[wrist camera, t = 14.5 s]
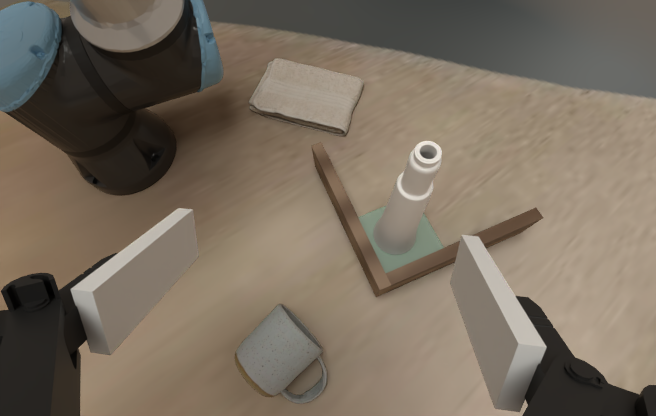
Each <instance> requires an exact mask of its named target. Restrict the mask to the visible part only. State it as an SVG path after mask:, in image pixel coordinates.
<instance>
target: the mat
mask: <svg viewBox="0 0 656 416" xmlns="http://www.w3.org/2000/svg"><path fill="white" fill-rule="evenodd" d="M385 208H386V206H384V207H382V208H379V209H377V210H375V211H372V212H370V213H367V214H365V215H363V216H360V217H358V218H359V220H360V222H361V224H362V226H363V228H364V230H365V232H366V235H367V237H368V239H369V241H370V243H371V245H372V247H373V249H374V251H375V253H376V255H377V257H378V259H379V261H380V263H381V265H382V267H383V269H384V271H385V273H388V272H390V271H392V270H395V269H397V268H399V267H402V266H404V265H406V264H408V263H411V262H413V261H415V260H418V259H420V258H422V257H424V256H427V255H429V254H431V253H434V252H436V251H438V250H440V249H443V248H444V247H443V245H442V244H441V242H440V240H439V239H438V237H437V235H436V233H435V232H434V230H433V228H432V226H431V225H430V223H429V221H428V220H427V218H426V216H425V214H424V213H423V215H422V218H421V220H420V223H419V225H418V228H417V232H416V241H415V243H414V245H413V247H412V248H411V249H410V250H409V251H407V252H406V253H403V254H399V255H393V254H388V253H386V252H384V251H383V250H381V249H380V248H379V247H378V246H377V244H376V242H375V240H374V236H373V231H374V227H375V225H376V223H377V221H378V220H379V219H380V218H381V216H382V215H383V213H384V210H385Z"/></svg>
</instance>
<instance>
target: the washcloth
mask: <svg viewBox="0 0 656 416" xmlns="http://www.w3.org/2000/svg"><path fill="white" fill-rule="evenodd" d="M363 85H364V82H363V80H362V79H360V78H359V77H354V76H350V75H347V74H340V73H339V72H334V71H330V70H325V69H323V68H317V67H315V66H310V65H305V64H300V63H296V62H292V61H289V60H286V59H281V58H277V59H274V61H271V62H269V63H268V66H267V70H266V72H265V74H264V76H263V77H262V79H261V81H260V83H259V85H258V86H257V88H256V89H255V92H254V93H253V95H252V97H251V99H250V100H249V104H251V105H250V110H252V111H254V112H257V113H259V114H260V115H264V116H267V117H269V118H271V119H275V120H279V121H282V122H287V123H290V124H294V125H298V126H302V127H306V128H310V129H314V130H318V131H322V132H325V133H329V134H333V135H336V136H344V135H346V133H347V131H348V128H349V124H350V121H351V114H352V112H353V110H354V107H355V106H356V104H357V102H358V100H359V97H360V94H361V91H362V88H363Z"/></svg>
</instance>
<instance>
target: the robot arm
mask: <svg viewBox="0 0 656 416" xmlns="http://www.w3.org/2000/svg"><path fill="white" fill-rule="evenodd" d="M70 14H71V16H69V17H66V18H59V15H58V14H57V13H56V12H55V11H54V10H52V9H50V8H49V7H47V6H46V5H44V4H41V3H34V2H22V3H17V4H14V5H11V6H9V7H7V8H5V9H3V10H1V11H0V110H1V111H2V112H5V113H7V114H8V115H10V116H11V117H13V118H14V119H16V120H17V121H19V122H20V123H22V124H23V125H25V126H26V127H28V128H29V129H31V130H32V131H34V132H35V133H37V134H38V135H40V136H41V137H43V138H44V139H46V140H47V141H49V142H50V143H52V144H53V145H55V146H56V147H58V148H59V149H61V150H62V151H64V152H65V153H66V154H67V155H68V156H69V158H70V159H71V161H72V162H73V164H74V165H75V167H76V168H77V170H78V171H79V172H80V174H81V175H82V177H83V178H84V179H85V180H86V181H87V182H88V183H90V184H91V185H93V186H94V187H96V188H97V189H99V190H101V191H103V192H105V193H108V194H113V195H126V194H132V193H135V192H138V191H141V190H143V189H145V188H147V187H149V186H151V185H152V184H154V183H155V182H156V181H157V180H159V179H160V178H161V177H162V176H163V175H164V174H165V172H166V171H167V170H168V168H169V167H170V165H171V163H172V161H173V159H174V156H175V152H176V140H175V137H174V134H173V132H172V130H171V129H170V128H169V127H168V125H167V124H166V123H165V122H164V121H163V120H162V119H161V118H160V117H159V116H158V115H156V114H154V113H153V112H151V111H149V110H147V109H145V108H147V107H150V106H153V105H156V104H160V103H163V102H166V101H169V100H173V99H176V98H179V97H182V96H186V95H189V94H192V93H195V92H201V91H202V90H203V89H204V88H207V87H210V86H212V85H215V84H217V83H219V82H220V81H221V79H222V78H223V73H224V72H223V65H222V61H221V57H220V54H219V50H218V47H217V44H216V41H215V38H214V36H213V31H212V28H211V24H210V21H209V18H208V15H207V11H206V8H205V6H204V3H203V0H70ZM198 257H199V253H198V245H197V237H196V229H195V221H194V214H193V209H183V208H178V209H176V210H175V211H174V212H173V213H171V214H170V215H169V216H167V217H166V218H165V219H163V220H162V221H161V222H159V223H158V224H157V225H155V226H154V227H153V228H151V229H150V230H149V231H147V232H146V233H145V234H143V235H142V236H141V237H139V238H138V239H137V240H135V241H134V242H133V243H131V244H130V245H129V246H127V247H126V248H125V249H123V250H122V251H121V252H119V253H115V254H112V255H110V256H108V257H106V258H103V259H102V260H100V261H99V262H97V263H96V264H95V265H93V266H92V268H89V269H88V270H86V271H85V272H84V274H81V275H80V276H78V277H77V278H75V279H74V280H73V281H71V282H70V283H69V284H67V285H66V286H64V287H63V288H62V289H60V290H59V291H58V288H57V285H56V282H55V279H54V277H53V275H51V274H49V273H36V274H30V275H27V276H23V277H20V278H18V279H16V280H14V281H12V282H10V283H9V284H7V285H6V286H4V288H3V289H2V290H1V293H2V295H3V297H4V300H5V302H6V304H7V307H8V309H9V310H3V311H0V416H80V364H81V355H80V352H79V349H78V348H79V347H80V346H81V345H82V344H83V343H84V342H85V341H86V340H87V342H88V345H89V348H90V351H91V352H92V353H99V354H106V355H111V354H112V353H113V352H114V351H115V350H116V349H117V348H118V347H119V345H120V344H121V343H122V342H123V341H124V340H125V339H126V338H127V336H128V335H129V334H130V333H131V332H132V331H133V330H134V329H135V327H136V326H137V325H138V324H139V323H140V322H141V321H142V320H143V318H144V317H145V316H146V315H147V314H148V313H149V312H150V311H151V310H152V308H153V307H154V306H155V305H156V304H157V303H158V302H159V301H160V299H161V298H162V297H163V296H164V295H165V294H166V293H167V292H168V290H169V289H170V288H171V287H172V286H173V285H174V284H175V283H176V282H177V280H178V279H179V278H180V277H181V276H182V275H183V274H184V273H185V271H186V270H187V269H188V268H189V267H190V266H191V265H192V264H193V262H194V261H195V260H196V259H197V258H198ZM450 285H451V287H452V290H453V293H454V296H455V299H456V301H457V304H458V307H459V310H460V313H461V315H462V318H463V321H464V324H465V327H466V329H467V332H468V335H469V338H470V341H471V344H472V346H473V349H474V352H475V355H476V358H477V360H478V363H479V366H480V369H481V372H482V374H483V377H484V380H485V383H486V386H487V388H488V391H489V394H490V397H491V400H492V402H493V405H494V408H495V409H501V410H508V411H516V412H520V410H521V408H522V405H523V403H524V401H525V399H526V402H527V404H528V407H527V408H526V410H525V412H524V414H523V416H656V385H648V386H647V387H645V388H644V389H643V390H642V392H641V394H640V395H639V394H636V393H633V392H630V391H627V390H625V389H622V388H619V387H616V386H613V385H611V384H608V383H607V381H606V379H605V378H604V376H603V375H602V374H601V373H600V372H599V371H598V370H597V369H596V368H594V367H593V366H591V365H590V364H588V363H587V362H585V361H582V360H580V359H578V358H575V357H574V355H573V354H572V353H571V351H570V350H569V348H568V347H567V345H566V344H565V342H564V341H563V340H562V338H561V337H560V335H559V334H558V332H557V331H556V329H555V328H553V325H552V324H551V322H550V321H549V320H548V319H547V316H546V315H545V313H544V312H543V311H542V309H541V308H540V307H539V306H538V305H537V304H536V303H534V302H533V301H532V300H531V299H529V298H528V297H520V296H515V295H514V293H513V292H512V290H511V288H510V287H509V285H508V284H507V282H506V280H505V279H504V277H503V275H502V274H501V272H500V271H499V269H498V267H497V266H496V264H495V262H494V261H493V259H492V258H491V256H490V254H489V253H488V251H487V249H486V248H485V246H484V245H483V243H482V241H481V240H480V238H479V236H469V235H461V239H460V244H459V248H458V252H457V256H456V261H455V265H454V269H453V273H452V278H451V282H450Z"/></svg>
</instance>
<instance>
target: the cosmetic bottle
mask: <svg viewBox="0 0 656 416" xmlns="http://www.w3.org/2000/svg"><path fill="white" fill-rule="evenodd" d="M441 156H442V151H441V148H440V147H439V146H438V145H437V144H436V143H434V142H432V141H423V142H420V143H419V144H418V145H417V146H416V147H415V149H413V150H412V152H411V153H410V155H409V158H408V161H407V164H406V167H405V170H404V172H402V173H401V174H400V175H399V177H398V179H397V181H396V183H395V185H394V188H393V190H392V193H391V195H390V198H389V201H388V203H387V206H386V208H385V210H384V213H383V215H382V216H381V218H380V219H379V220H378V221H377V223H376V225H375V227H374V231H373V236H374V240H375V242H376V244H377V246H378V247H379V248H380V249H381V250H383V251H384V252H386V253H388V254H393V255H399V254H403V253H406V252H407V251H409V250H410V249H411V248H412V247H413V245H414V243H415V241H416V232H417V228H418V225H419V223H420V220H421V218H422V215H423V213H424V211H425V209H426V206H427V204H428V201H429V199H430V196H431V194H432V191H433V180H434V178H435V176H436V174H437V172H438V170H439V168H440V166H441Z"/></svg>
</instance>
